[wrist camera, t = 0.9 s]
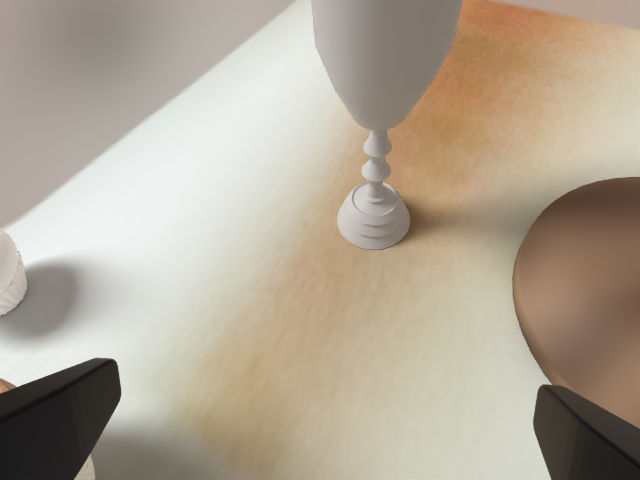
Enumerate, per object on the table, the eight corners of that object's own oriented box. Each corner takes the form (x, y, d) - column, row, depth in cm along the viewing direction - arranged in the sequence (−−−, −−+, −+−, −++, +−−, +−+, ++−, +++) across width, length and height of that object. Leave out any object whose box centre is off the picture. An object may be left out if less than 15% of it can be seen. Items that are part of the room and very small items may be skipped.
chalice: (400, 279, 25) (461, -50, 10) (305, 241, 28) (245, -78, 13) (438, 197, 29) (527, -141, 14) (351, 168, 31) (347, -151, 16)
